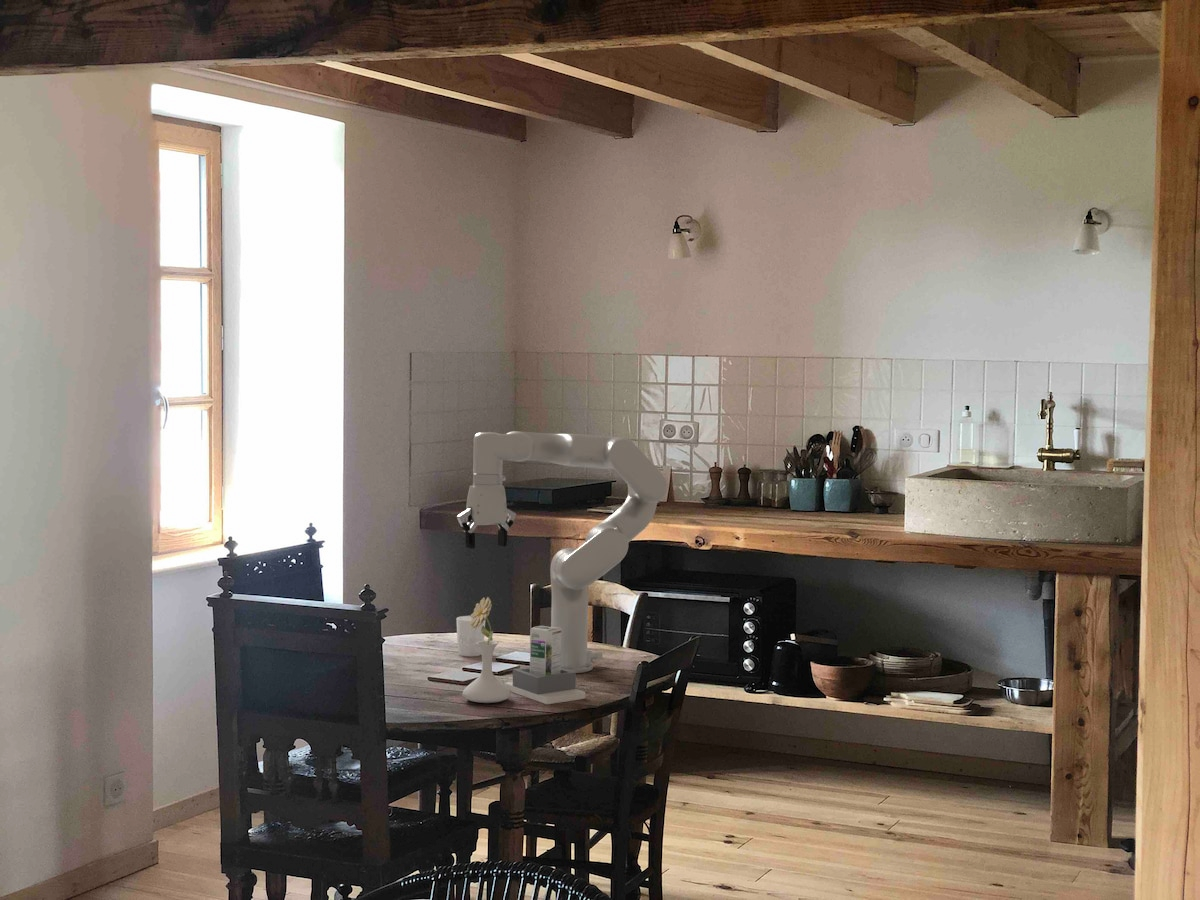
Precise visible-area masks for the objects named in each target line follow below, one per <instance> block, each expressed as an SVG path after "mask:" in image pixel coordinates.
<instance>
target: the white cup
mask: <svg viewBox="0 0 1200 900" xmlns="http://www.w3.org/2000/svg"><path fill="white" fill-rule="evenodd" d="M472 619H473V618H471V615H462V616H458V617H456V637H457V638H456V639H457V651H458V652H457V653H458V656H460V657H461V656H462V657H471V658H472V657H480V656H482V655H481V650H480V648H479V646H478V645H477V642H479V641H485V635H484V634H482V632H481V628H482V626H484V627H485V628H486V620H485V621H484V622H483V624H482V625H480V626H479V627H478V626H477V627H476V628H472V625H470V621H471V620H472Z"/></svg>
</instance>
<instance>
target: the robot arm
mask: <svg viewBox="0 0 1200 900" xmlns="http://www.w3.org/2000/svg"><path fill="white" fill-rule="evenodd" d="M472 455H473V457H472V461H473V462H472V463H473V464H472V485H469V489H468V493H467V497H466V506H465V510H464V511H462V512H461V513H459V514H458V515H457V516H456V519H457V521H458V523H459V527H461V528H462V530H463V532H464V533H465V537H464V538H465V547H466V548H467V549H473V550H474V549H475V548H476V533H475V532H474V531H475V530H476V529H477V527H478V526H487V525H488V526H489V525H497V527H498V531H497V546H501V547H507V546H508V545H507V544H508V543H507V542H508V532H509V531H510V530H511V529H510V528H511V527H512V526H513V524H514V521H515V519H516V516H517V513H516V512H514V511H513V510H511V509H509V508H507V506H508V505H507V496H506V495H507V494H506V488H505V486H504V485H503V481H506V479H507V478H506V475H504V474H503V463H504V462H503V461H509V462H510V461H512V462H520V463H521V462H525V461H535V462H545V463H551V464H552V463H553V464H556V465H560V466H565V467H571V468H573V467H574V468H575V467H576V468H592V469H602V470H603V469H604V470H605V469H607V470H614V471H615V472H616V473H617V474H618V475H619V477H620V478H621V479H622V480H623V481H624V483H626V484H627V497H626V499H625V501H624V502H623V504H622V505H621V506H620V507H619V508H617V509H616V510H615V511H613V513H612V514H610V515H609V516H608V517H606V518H605V519H604V520H602V521H601V522H600V523H598V524H596V525H595V526H593V527H592V528H591V529H590V530H589V531H588V532H587V535H586V536H585V540H584V543H583V544H582V545H581V546H580V547H578V548H574V547H566V548H561V549H560V550H558V551H557V552H556V553H555V554H554V555H553V558H552V559H551V562H550V569H549V570H550V586H551V587H550V588H551V609H550V610H551V612H550V615H551V616H550V617H551V619H550V620H551V621H550V622H551V623H550V625H551V626H550V627H556V628H561V668H563V669H566V670H569V671H572V672H576V674H583V673H587V672H590V671H592V670H593V669H594V664H593V663H591V662H592V661H594V660H602V658H603V652H602V651H595V652H592V651H591V650H588V627H589V626H588V624H589V623H588V621H589V619H588V618H589V617H588V616H589V592H588V587H590V586H591V585H593V584H594V583H595V582H596V581H598V580H599V579H600V578H602V577H603V576H604V575H606V574H607V573H609V571H611V570H612V569H614V568H615V567H616V566H617V565H618V564H619V563H621V562H622V560H623V559H624V558H625V557H626V555H627V553H628V550H629V543H630V542H631V541H632V540H634V539H635V538H636V537H637V536H638V535H640V534H641V533H642V532H643V531H644V530H645V529H646V528H647V527H648V526H649V525H650V523H651V521H652V520H653V518H654V516H655V514H656V511H657V505H658V502H660V501H662V500H663V499H664V498H665V497H666V495H667V493H668V488H669V487H668V486H669V485H668V481H667V478H666V477H665V476H664V473H662V471H660V470H659V469H658V467H657V466H656V465H655V464H654V463H653V462H652V461H651V460H650V459H649V458H648V456H647V455H646V454H644V452H643V451H642V450H641V449H640V448H639V447H638V445H636V443H634V442H633V441H632V440H631V439H629V438H624V437H619V436H609V435H608V436H607V435H605V436H604V435H596V434H595V435H594V434H593V435H592V434H581V433H566V432H565V433H547V432H545V433H544V432H535V431H533V432H531V431H518V430H513V431H508V432H507V433H499V432H492V431H482V432H477V433H476V434H474V437H473V454H472ZM507 516H508V517H507Z"/></svg>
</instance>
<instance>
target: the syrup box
mask: <svg viewBox="0 0 1200 900" xmlns="http://www.w3.org/2000/svg"><path fill="white" fill-rule="evenodd" d="M529 631H530V633H529V643H530V644H529V667H530V673H531V674H534V675H537V676H545V675H552V674H559V673H561V628H556V627H551V626H545V625H537V626H533V627H531V628H530V630H529Z"/></svg>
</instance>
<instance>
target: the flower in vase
mask: <svg viewBox="0 0 1200 900" xmlns="http://www.w3.org/2000/svg"><path fill="white" fill-rule="evenodd" d="M492 607H493V606H492V601H491V598H490V597H489V596H487V597H483V598H481V600H479V603H478V602H477V603H476V604H475V607H474V609H473V613H471V614H470V616H471V618H473V619H472V620H471V621H470V625H472V628H476V627H477V626H478V627H479V626H480V625H482V624H483V622H484V621H485V622H486V621H487V624H488V627H489V630H488V629H487V628H486V626H485V627H484V626H482V628H481V632H482V634H484V637H486V638H488V639H487V640H484V641H479V642H477V645H478V646H479V648H480V650H481V655H480V656H481V672H480V675H478V677H476V679H474V680H472V682H470V683H469V684H468V685H467V686H466V687H465V688H464V689H463V691H462V697H463V698H464V699H466V700H467V701H470V702H475V703H479V704H490V703H491V704H492V703H499V702H503V701H505V700H507V699H510V697H511V696H512V692H511V691H510V690H509V689H508V688H507V687H506V686H505V685H504V682H502V681H501V680H500V679H498V678H497V677H496V676H495V674H494V672H493V664H492V663H493V655H494V651H495V649H496V647H497V645H498V643H499V642H497V641H495V640H493V634H494V630H492V626H491V623H490V621H489V618H488V616H489V615H490V612H491V609H492Z"/></svg>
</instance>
